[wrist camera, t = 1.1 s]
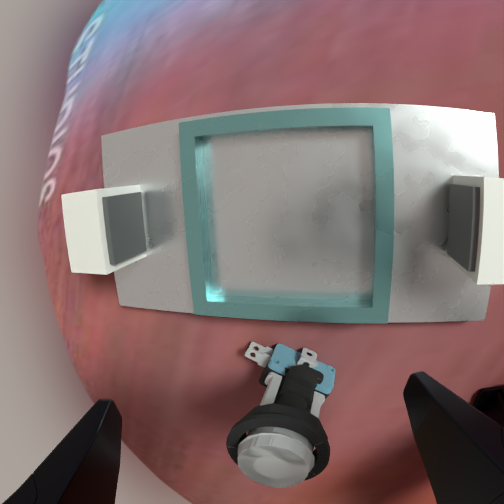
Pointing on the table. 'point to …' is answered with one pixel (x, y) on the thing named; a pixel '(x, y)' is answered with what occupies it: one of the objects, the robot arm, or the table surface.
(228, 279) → the teal-edged white tray
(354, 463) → the table surface
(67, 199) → the white padded clamp jaws
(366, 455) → the table surface
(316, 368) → the push button
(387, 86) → the table surface
